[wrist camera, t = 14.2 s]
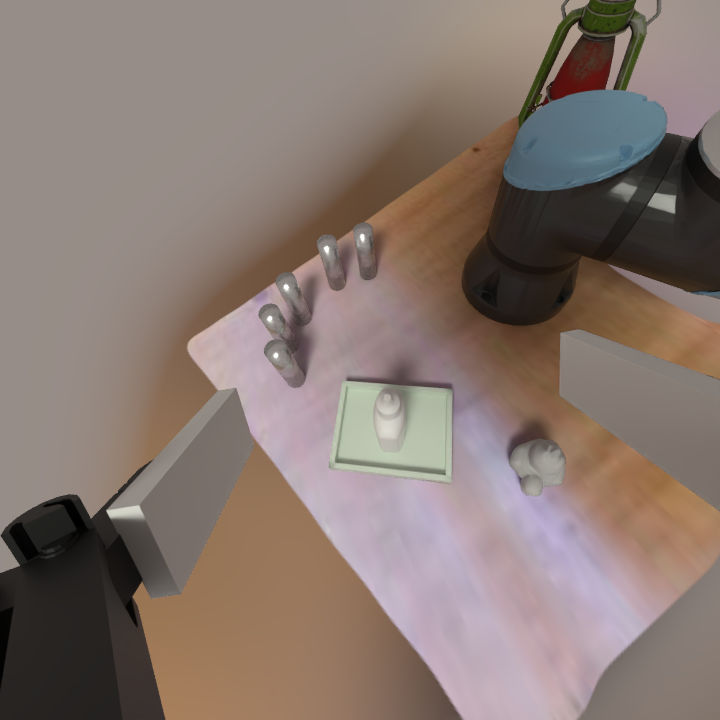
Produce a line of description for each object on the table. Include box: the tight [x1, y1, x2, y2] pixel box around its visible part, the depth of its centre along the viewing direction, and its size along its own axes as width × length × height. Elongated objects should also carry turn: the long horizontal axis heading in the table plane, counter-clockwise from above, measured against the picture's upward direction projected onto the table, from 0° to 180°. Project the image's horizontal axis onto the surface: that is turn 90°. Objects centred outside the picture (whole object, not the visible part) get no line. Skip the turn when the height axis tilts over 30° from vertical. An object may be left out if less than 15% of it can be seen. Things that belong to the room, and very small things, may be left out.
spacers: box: [259, 223, 376, 388], centre depth 48 cm, size 7×23×9 cm, turn 150°
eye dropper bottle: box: [373, 388, 406, 453], centre depth 37 cm, size 4×6×12 cm
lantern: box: [518, 0, 661, 129], centre depth 47 cm, size 14×11×30 cm
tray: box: [329, 381, 452, 484], centre depth 42 cm, size 14×11×2 cm
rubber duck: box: [509, 438, 566, 496], centre depth 36 cm, size 5×7×8 cm
